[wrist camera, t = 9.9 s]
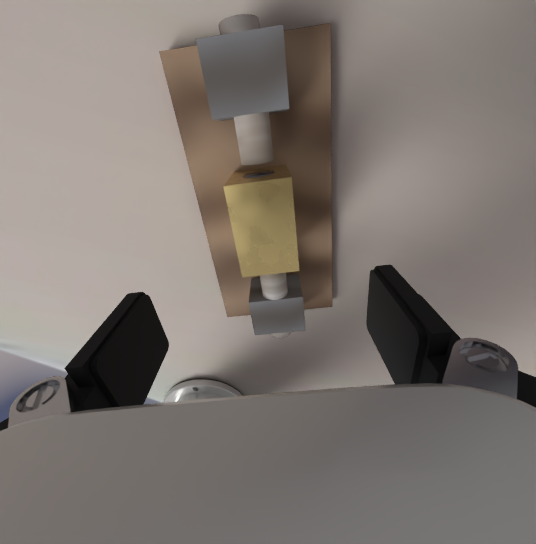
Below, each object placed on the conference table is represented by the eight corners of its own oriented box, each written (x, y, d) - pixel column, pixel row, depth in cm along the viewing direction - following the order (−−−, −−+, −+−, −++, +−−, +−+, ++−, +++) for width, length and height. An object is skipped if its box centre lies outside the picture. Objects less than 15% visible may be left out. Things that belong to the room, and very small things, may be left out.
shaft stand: (330, 300, 30) (341, 332, 26) (228, 310, 31) (221, 343, 26) (326, 28, 19) (346, -4, 14) (165, 55, 19) (132, 33, 15)
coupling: (233, 171, 22) (223, 185, 17) (286, 164, 22) (291, 176, 17) (247, 247, 26) (242, 278, 20) (292, 241, 25) (299, 271, 20)
